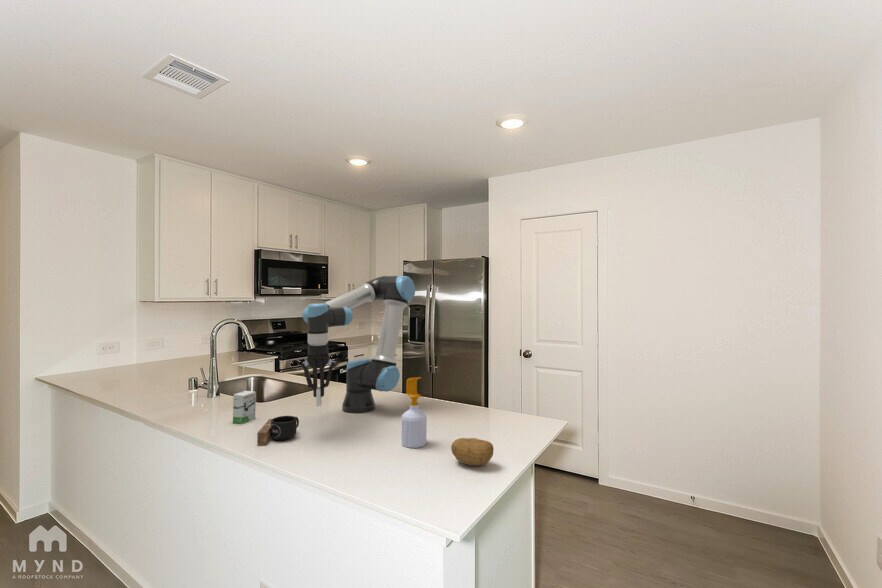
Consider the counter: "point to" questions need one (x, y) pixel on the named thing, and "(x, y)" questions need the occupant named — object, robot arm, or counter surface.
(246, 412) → the ink box
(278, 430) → the mug
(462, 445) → the potato
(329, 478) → the counter surface
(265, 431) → the long brown box
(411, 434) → the soap bottle
